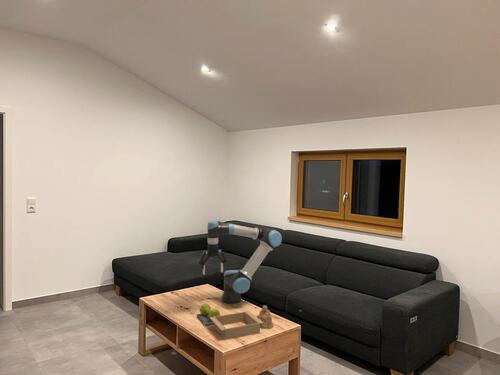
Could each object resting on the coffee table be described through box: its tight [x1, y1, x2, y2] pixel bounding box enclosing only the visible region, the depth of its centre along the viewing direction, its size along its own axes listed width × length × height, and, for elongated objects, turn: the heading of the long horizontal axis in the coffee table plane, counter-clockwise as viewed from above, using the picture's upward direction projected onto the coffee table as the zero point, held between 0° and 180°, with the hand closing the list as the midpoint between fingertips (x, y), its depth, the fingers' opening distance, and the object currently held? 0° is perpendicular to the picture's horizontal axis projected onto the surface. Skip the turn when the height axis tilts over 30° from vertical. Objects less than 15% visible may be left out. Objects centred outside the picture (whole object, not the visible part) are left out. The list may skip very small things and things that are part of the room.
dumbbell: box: [199, 303, 221, 321], centre depth 260 cm, size 16×8×7 cm, turn 35°
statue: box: [256, 304, 275, 330], centre depth 252 cm, size 12×14×10 cm
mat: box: [196, 313, 213, 327], centre depth 260 cm, size 12×19×2 cm, turn 25°
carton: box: [210, 310, 263, 340], centre depth 244 cm, size 28×22×6 cm
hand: (212, 273), depth 277 cm, fingers open, 13 cm apart
